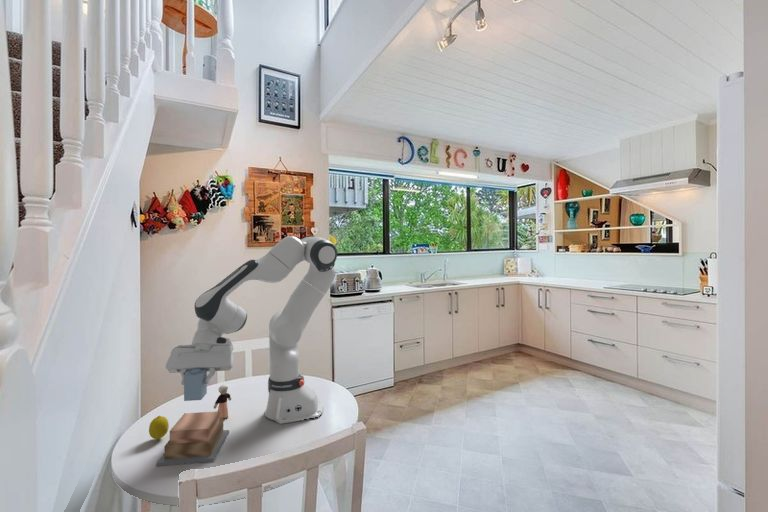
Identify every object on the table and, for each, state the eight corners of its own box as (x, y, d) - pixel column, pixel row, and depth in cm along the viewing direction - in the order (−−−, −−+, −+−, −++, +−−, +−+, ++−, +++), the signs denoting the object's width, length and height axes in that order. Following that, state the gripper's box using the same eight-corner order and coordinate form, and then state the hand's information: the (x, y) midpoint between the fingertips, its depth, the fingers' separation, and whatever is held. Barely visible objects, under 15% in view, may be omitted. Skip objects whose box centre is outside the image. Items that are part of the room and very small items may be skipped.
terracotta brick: (223, 432, 117) (223, 409, 117) (210, 455, 104) (210, 430, 104) (182, 435, 115) (182, 412, 115) (164, 459, 102) (164, 433, 102)
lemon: (146, 445, 111) (146, 421, 111) (152, 436, 116) (152, 413, 116) (165, 442, 112) (165, 419, 112) (170, 433, 118) (170, 411, 117)
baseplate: (229, 432, 119) (229, 429, 119) (214, 461, 103) (214, 458, 103) (179, 436, 116) (179, 433, 116) (156, 466, 101) (156, 462, 101)
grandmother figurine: (221, 423, 125) (221, 389, 125) (211, 422, 126) (212, 388, 125) (234, 413, 132) (234, 381, 132) (225, 412, 133) (225, 380, 133)
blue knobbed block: (206, 393, 113) (206, 366, 112) (201, 400, 108) (200, 372, 107) (190, 394, 112) (190, 367, 111) (184, 400, 107) (183, 373, 107)
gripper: (170, 341, 114) (156, 381, 105) (234, 339, 118) (226, 378, 108) (176, 350, 119) (163, 389, 110) (238, 348, 122) (230, 386, 113)
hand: (195, 383), depth 109 cm, fingers closed on blue knobbed block, 5 cm apart
